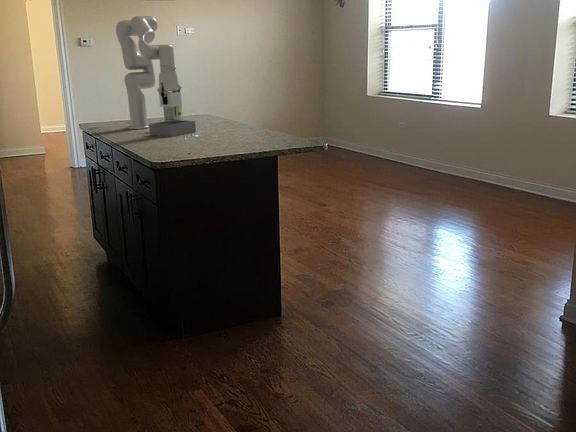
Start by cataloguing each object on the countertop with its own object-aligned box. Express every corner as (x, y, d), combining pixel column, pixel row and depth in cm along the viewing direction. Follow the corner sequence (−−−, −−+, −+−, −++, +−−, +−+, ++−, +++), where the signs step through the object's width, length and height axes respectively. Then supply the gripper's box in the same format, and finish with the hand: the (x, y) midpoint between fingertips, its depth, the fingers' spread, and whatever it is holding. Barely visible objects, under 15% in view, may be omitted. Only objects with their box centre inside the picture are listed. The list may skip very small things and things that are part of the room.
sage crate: (160, 106, 335) (159, 93, 333) (170, 105, 340) (168, 92, 339) (172, 106, 330) (170, 93, 328) (181, 105, 335) (180, 92, 333)
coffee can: (168, 128, 363) (165, 103, 360) (185, 127, 362) (183, 102, 359) (162, 130, 354) (160, 105, 350) (180, 130, 352) (178, 104, 349)
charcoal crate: (150, 135, 337) (149, 123, 335) (175, 130, 351) (174, 119, 349) (171, 136, 327) (170, 125, 326) (195, 132, 341) (195, 120, 340)
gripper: (175, 68, 339) (177, 102, 344) (150, 70, 326) (153, 105, 330) (184, 68, 335) (187, 102, 339) (160, 70, 321) (163, 105, 326)
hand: (170, 103), depth 335 cm, fingers closed on sage crate, 7 cm apart
